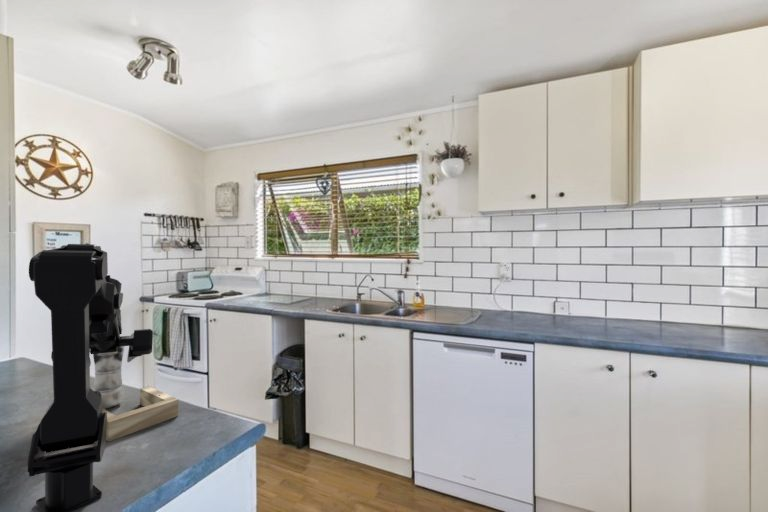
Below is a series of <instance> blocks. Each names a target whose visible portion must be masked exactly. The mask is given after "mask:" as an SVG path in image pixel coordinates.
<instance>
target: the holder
mask: <svg viewBox="0 0 768 512" xmlns="http://www.w3.org/2000/svg"><path fill="white" fill-rule="evenodd" d="M159 395H160V396H159ZM139 405H141V406H142V407H139V408H136V409H133V410H131V411H127V412H124V413H121V414H117V415H115V414H114V413H113V412H111V411H108V410H106V408H103V413H104V412H107V430H106V441H108V442H111V441H114V440H117V439H120V438H122V437H125V436H128V435H130V434H131V435H132V434H133V433H136V432H138V431H141V430H144V429H146V428H149V427H152V426H155V425H158V424H160V423H163V422H165V421H168V420H170V419H171V420H172V419H173V418H176V417H178V416H179V398H176V397H174V396H172V395H170V394H167V393H165V392H163V391H160V390H158V389H156V388H154V387H152V386H149V385H148V386H145V387H144V386H143V387H141V388H139Z"/></svg>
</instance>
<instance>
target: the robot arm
mask: <svg viewBox="0 0 768 512" xmlns="http://www.w3.org/2000/svg"><path fill="white" fill-rule="evenodd" d="M108 263H109V262H108V252H107V251H105V250H102V248H101V246H100V245H96V244H88V243H86V244H84V243H83V244H82V243H68V244H66V245H65V244H64V245H61V246H60V247H57V248H51V249H43V250H42V251H39V252H38V253H36V254H35V255H34V256H32V257H31V258H30V260H29V264H28V277H29V279H30V281H31V282H33V284H34V285H33V286H34V295H35V296H36V297H37V299H39V300H40V301H41V302H42V303H43V304H44V305H45V307H47V308H48V309H49V310H50V320H51V322H50V323H51V349H52V350H51V354H50V355H51V356H50V359H51V361H52V379H53V380H52V383H53V384H52V387H53V400H52V401H51V403H50V404H49V405H48V408H47V409H46V411H45V412H44V415H43V416H42V419H41V420H40V422H39V423H38V425H37V427H36V430H35V432H34V433H33V434H32V437H31V442H30V447H29V451H28V458H27V473H28V475H29V478H31V477H35V476H37V475H42V474H44V475H45V476H44V477H45V478H44V482H45V484H44V487H45V488H44V496H43V497H41V498H39V499H38V498H37V499H36V501H35V506H37V508H38V509H39V510H40V511H41V512H72V511H74V510H76V509H78V508H80V507H83V506H84V505H87V504H88V503H91V502H93V501H95V500H97V499H100V498H101V497H102V496H103V492H102V490H100V489H99V488H98V487H96V485H94V463H100V462H102V459H103V456H104V453H105V450H106V442H107V440H106V430H107V412H104V413H103V409H104V408H103V407H102V395H101V393H100V392H99V391H93V390H94V389H92V388H91V372H90V371H91V370H90V369H91V368H90V367H91V364H92V360H91V358H90V355H93V354H99V353H109V352H117V347H121V346H124V347H128V350H127V357H126V359H127V360H126V362H127V363H131V362H132V361H133V360H135V359H136V358H137V357H142V356H144V355H151V354H152V353H153V345H154V344H153V343H154V340H153V339H154V330H152V329H151V328H145V329H144V328H143V329H134V331H133V333H131V335H124V336H121V335H122V333H123V332H122V331H123V328H122V313H121V312H122V310H121V306H122V303H123V301H124V300H123V299H124V293H123V292H121V291H122V282H120V281H119V280H118V279H116V278H114V277H111V275H110V274H108V269H109V268H108V265H109V264H108ZM95 444H96V445H95ZM90 445H95V446H90ZM86 446H90V447H86ZM78 447H83V448H79V449H74V448H78ZM84 447H85V448H84ZM69 449H74V450H70V451H69ZM63 450H68V451H64V452H59V451H63ZM53 452H59V453H53ZM45 453H46V454H48V455H45ZM49 453H53V454H50V455H49Z"/></svg>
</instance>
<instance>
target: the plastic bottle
mask: <svg viewBox="0 0 768 512" xmlns="http://www.w3.org/2000/svg"><path fill="white" fill-rule="evenodd" d="M124 350H125V346H121V347H117V352H109V353H99V354H92V355H93V356H92V358H93V362H94V376H95V377H94V383H93V384H94V385H93V389H92V390H93V391H99V392H100V393H101V395H102V407H103V409H108V408H113V407H115V406H118V405H119V404H121V403H122V401H123V400H124V397H125V390H124V385H123V378H122V376H123V375H122V366H123V357H124V352H125V351H124Z"/></svg>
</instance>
